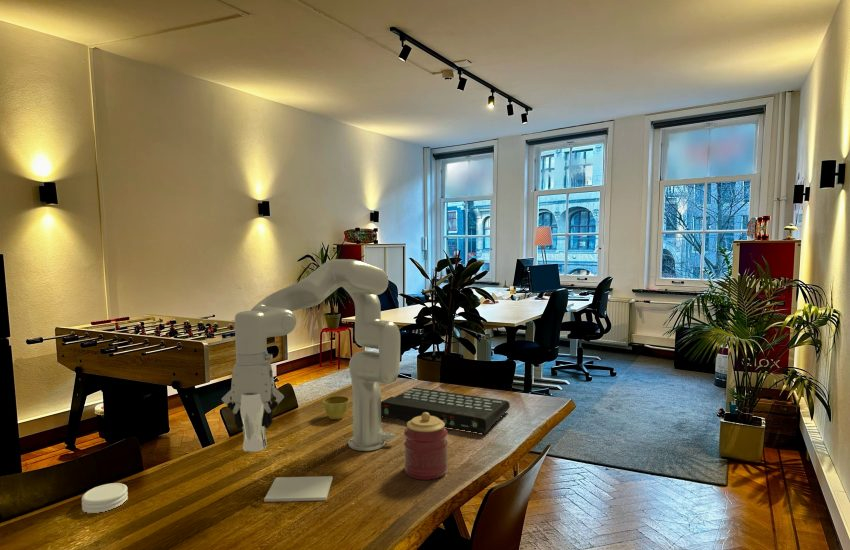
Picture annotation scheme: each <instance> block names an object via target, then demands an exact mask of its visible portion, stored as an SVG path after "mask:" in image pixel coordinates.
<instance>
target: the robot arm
mask: <svg viewBox="0 0 850 550" xmlns="http://www.w3.org/2000/svg"><path fill="white" fill-rule="evenodd" d="M388 286H389V277H388V274H387V273H386V271H385V270H383V269H382V268H381V267H378V266H375V265H371V264H370V263H366V262H363V261H361V260H357V259H349V258H347V259H345V258H341V259H340V258H339V259H338V258H335V259H329V260H327V261H325V262H324V263H322V265H320V266H318V267H317V268H316V269H314V271H312V272H311V273H310V274H308V275H307V276H306V277H304V278H302V280H300V281H298V282H295V283H293V284H291V285H289V286H287V287H284V288H282V289H279V290H277V291H275V292H272V293H271V294H269V295H267V296H266V297H265V298H263V299H261V301H259V302H258V303H257V304H256V305H254V306H253V307H252V308H251V309H250V310H245V311H244V310H243V311H239V312H237V313H236V315H234V336H235V337H234V338H235V340H234V342H235V363H234V365H233V368H232V375H231V387H230V390H229V391H227V393H226V394H224V395H223V396H222V398H221V401H222V402H223V403H224V404H225V405H226V406H227V408H229V410H231V411H232V413H233V414H234V424H235V425H236V429H237V430H239V429H241V428H243V427H242V423H241V418H240V411H239V404H240V399H241V394H244V395H254V394H260V397H261V400H262V403H264V405H265V410H266V413H265V414H264V421H265V429H268V428H269V427H270V426H271V425H272V424H273V421H274V420H273V419H274V418H273V410H274V409H275V408H276V407H277V406H278V405H279V404H280V403H281V402H282V401H283V399H284V398H285V395H284V394H283V393H282V392H280V390H278V388H276V387H275V379H274V372H273V368H272V363H271V361H269V360H272V359H273V353H268V350H267V349H268V348H267V346H268V345H267V338H268V337H284V336H286V335H289V334H291V333H292V332H293V331H294V329H295V328H296V326H297V317H296V314H294V312H293V311H295V312H296V311H298V310H304V309H309V308H313V307H315V306H318V305H319V304H321V303H322V302H324V300H326V299H327V298H328V297H329V296H330V295H332V294H333V293H334V292H335V291H337V290H338V289H339V288H343V289H344V290H345V291H346V292H347V293H348V295H350V297H351V298H352V301H353V303H354V309H355V311H354V312H355V315H354V316H355V317H354V341H355V343H356V344H357V345H359V346H360V347H363V348H368V349H373V350H378V352H377V351H371V350H359V351H357V352H355V353H353V354H352V356H351V357H350V360H349V363H348V368H349V369H348V370H349V374H350V379H351V388H352V390H351V391H352V437H350V438H349V439H348V442H347V443H348V447H349V448H350V449H352V450H355V451H359V452H360V451H361V452H371V451H377V450H379V449H381V448H384V446H385V445H386V442H387V441H386V440H395V433H392V431H385V430H383V427H382V417H381V401H382V392H381V386H380V384H385V385H386V384H387V385H388V384H392V383H393V382H395V381H396V380H397V378H398V376H399V373H400V366H401V365H400V364H401V363H400V362H401V361H400V360H401V332H400V329H399V326H398V325H397V324H396V323H395V322H393V321H390V320H383V319H382V315H381V311H382V310H381V309H382V308H381V302H380V299H379V296H378V295H381V294H383V293H384V292H386V291H387V288H388ZM274 397H275V398H276V399H275V400H274V401H273V402H272V401H271V400H272V398H274Z"/></svg>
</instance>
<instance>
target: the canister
mask: <svg viewBox="0 0 850 550" xmlns="http://www.w3.org/2000/svg"><path fill="white" fill-rule="evenodd" d="M444 426H445V423H444V422H443V421H442V420H440V419H439V418H437V417H434V416H430V414H429V413H428V412H424V413H423V414H422V416H417V417H414V418H413V419H412V420H410V421H409V422H406V428H405V429H404V431H403V434H404V436H405V440H404V443H403V445H404V462H403V465H404V466H403V468H404V472H405V474H406V475H407V476H409V477H410V478H412V479H417V480H419V481H421V480H423V481H425V480H426V481H432V480H436V478H437V479H440V478H443V476H445V475H446V473H448V467H449V465H448V464H449V463H448V445H449V444H448V440H447V436H448V434H449V433H448V429H445V428H444ZM439 477H440V478H439ZM431 479H432V480H431Z"/></svg>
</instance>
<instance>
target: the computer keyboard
mask: <svg viewBox="0 0 850 550" xmlns="http://www.w3.org/2000/svg"><path fill="white" fill-rule="evenodd" d="M510 407H511V405H510V402H509V401H508V400H505V399H504V400H503V399H499V398H498V399H497V398H490V397H484V396H483V397H482V396H478V395H477V396H476V395H468V394H462V393H461V394H460V393H455V392H448V391H441V390H435V389H428V388H421V387H420V388H419V387H413V388H411V389H408V390H406V391H404V392H402V393H400V394H398V395H395V396H390V397H388V398H386V399H383V400H381V416H383V417H382V418H384V417H388V418H387V419H390V418H393V419H392V420H395V419H399V420H398V421H401V420H404V421H403V422H406V421H410V420H412V419H413V418H414V417H417V416H422V414H423V413H424V412H428V413H429V414H430V416H434V417H437V418H439V419H440V420H442V421H443V422H444V423H445V426H444V427H447V428H453V429H459V430H465V431H471V432H477V433H482V434H484V435H485V434H486V433H487V432H488V431H489V430H490V429H491V428H492V427H493V426H494V425H495V424H496V423H497V422H498V421H499V420H500V419H501V418H502V417H503V416H504V415H505V414H506V413H507V412H508V410H509V409H510ZM506 411H507V412H506ZM505 412H506V413H505ZM504 413H505V414H504ZM503 414H504V415H503ZM502 415H503V416H502ZM501 416H502V417H501ZM500 417H501V418H500ZM499 418H500V419H499ZM498 419H499V420H498ZM497 420H498V421H497ZM496 421H497V422H496ZM495 422H496V423H495ZM494 423H495V424H494ZM493 424H494V425H493ZM492 425H493V426H492ZM491 426H492V427H491ZM490 427H491V428H490Z"/></svg>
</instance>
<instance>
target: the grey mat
mask: <svg viewBox="0 0 850 550" xmlns="http://www.w3.org/2000/svg"><path fill="white" fill-rule="evenodd" d="M332 482H333V476H332V475H329V476H322V475H321V476H283V477H278V476H277V477H275V479H274V480H273V483H272V484H271V486H270V488H269V489H268V491H267V493H266V495H265V497H264V498H263V500H264V501H263V502H264V503H267V502H268V503H269V502H305V501H306V502H310V501H327V498H328V495H329V492H330V488H331V485H332Z"/></svg>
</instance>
